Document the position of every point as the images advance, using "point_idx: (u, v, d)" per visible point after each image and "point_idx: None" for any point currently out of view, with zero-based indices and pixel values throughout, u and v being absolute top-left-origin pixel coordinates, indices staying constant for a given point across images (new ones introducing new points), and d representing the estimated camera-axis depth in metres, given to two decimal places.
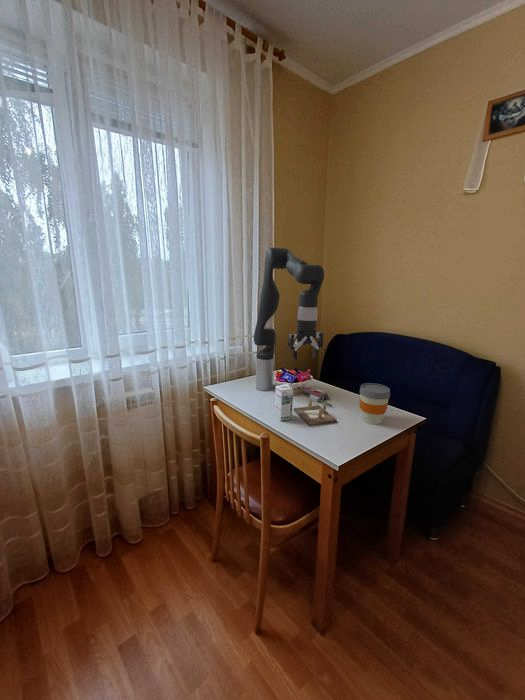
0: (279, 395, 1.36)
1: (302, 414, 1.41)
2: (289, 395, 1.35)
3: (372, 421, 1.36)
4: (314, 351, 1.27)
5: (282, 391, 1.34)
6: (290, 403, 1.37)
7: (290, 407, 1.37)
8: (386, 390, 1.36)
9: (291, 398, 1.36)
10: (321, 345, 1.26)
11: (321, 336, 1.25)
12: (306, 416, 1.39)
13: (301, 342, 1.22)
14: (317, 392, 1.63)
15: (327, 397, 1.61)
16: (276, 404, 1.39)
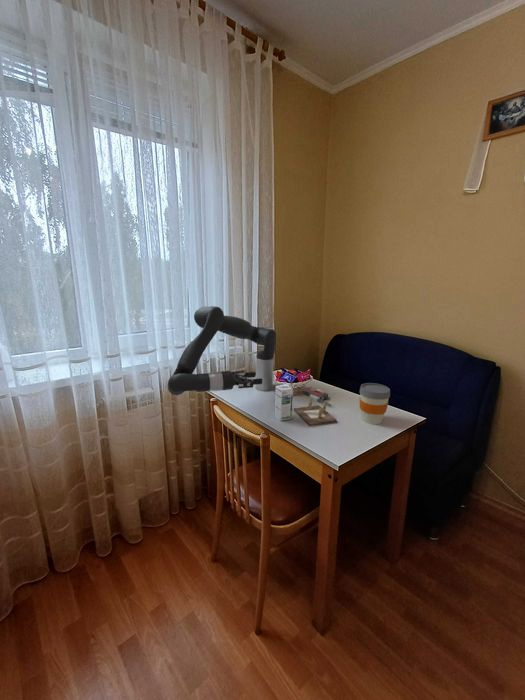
0: (279, 395, 1.36)
1: (302, 414, 1.41)
2: (289, 395, 1.35)
3: (372, 421, 1.36)
4: None
5: (282, 391, 1.34)
6: (290, 403, 1.37)
7: (290, 407, 1.37)
8: (386, 390, 1.36)
9: (291, 398, 1.36)
10: None
11: None
12: (306, 416, 1.39)
13: None
14: (317, 392, 1.63)
15: (327, 397, 1.61)
16: (276, 404, 1.39)
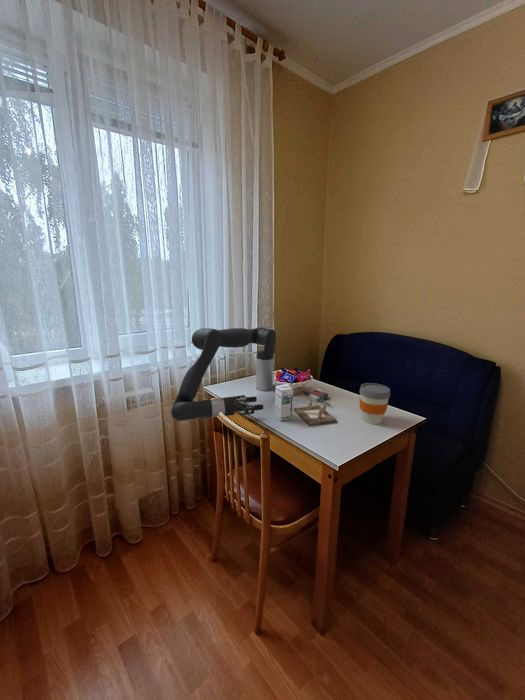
0: (279, 395, 1.36)
1: (302, 414, 1.41)
2: (289, 395, 1.35)
3: (372, 421, 1.36)
4: None
5: (282, 391, 1.34)
6: (290, 403, 1.37)
7: (290, 407, 1.37)
8: (386, 390, 1.36)
9: (291, 398, 1.36)
10: None
11: None
12: (306, 416, 1.39)
13: None
14: (317, 392, 1.63)
15: (327, 397, 1.61)
16: (276, 404, 1.39)
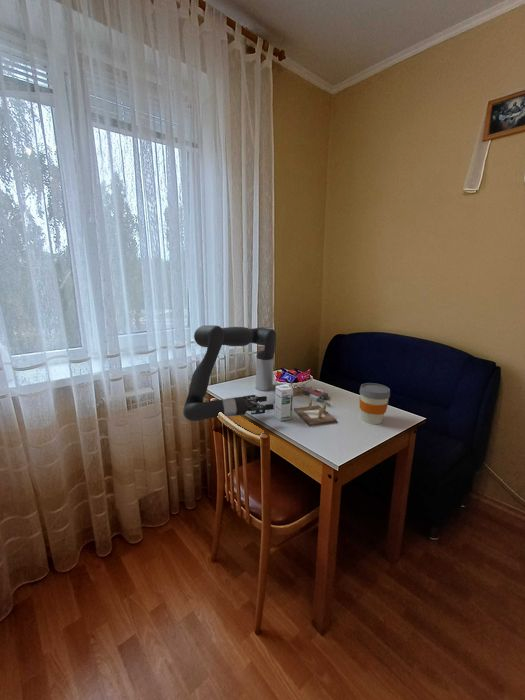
0: (279, 395, 1.36)
1: (302, 414, 1.41)
2: (289, 395, 1.35)
3: (372, 421, 1.36)
4: None
5: (282, 391, 1.34)
6: (290, 403, 1.37)
7: (290, 407, 1.37)
8: (386, 390, 1.36)
9: (291, 398, 1.36)
10: None
11: None
12: (306, 416, 1.39)
13: None
14: (317, 392, 1.64)
15: (327, 397, 1.61)
16: (276, 404, 1.39)
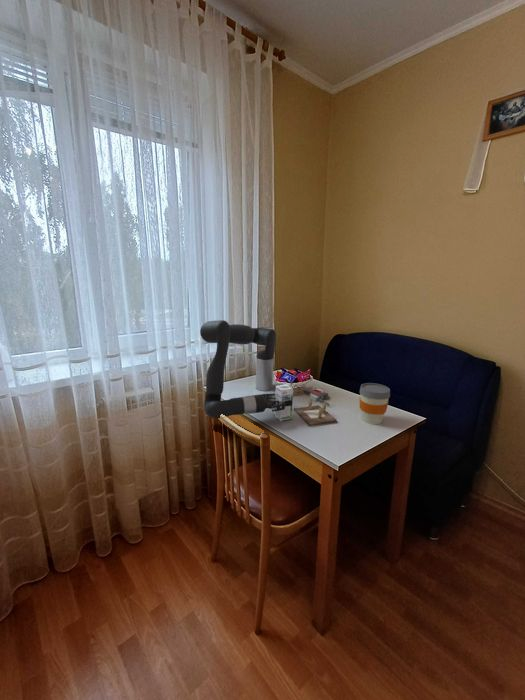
0: (279, 395, 1.36)
1: (302, 414, 1.41)
2: (289, 395, 1.35)
3: (372, 421, 1.36)
4: None
5: (282, 391, 1.34)
6: None
7: (290, 407, 1.37)
8: (386, 390, 1.36)
9: (291, 398, 1.36)
10: None
11: None
12: (306, 416, 1.39)
13: None
14: (317, 391, 1.64)
15: (327, 397, 1.61)
16: None
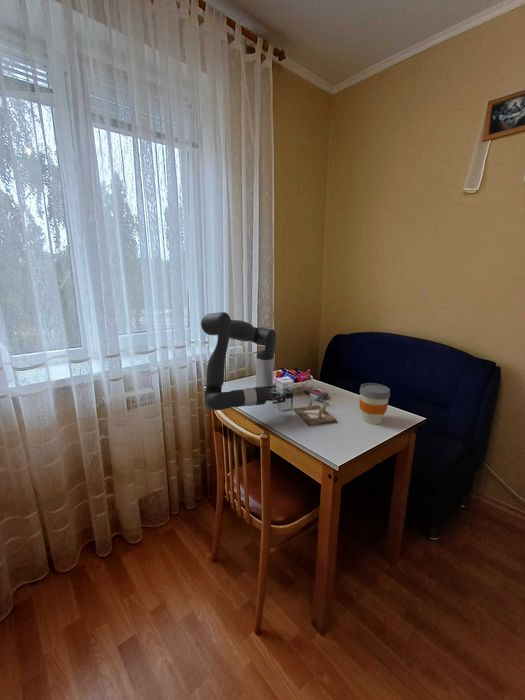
0: (280, 387, 1.35)
1: (302, 414, 1.41)
2: (290, 387, 1.35)
3: (372, 421, 1.36)
4: None
5: (283, 383, 1.33)
6: None
7: (291, 399, 1.36)
8: (386, 390, 1.36)
9: (292, 391, 1.36)
10: None
11: None
12: (306, 416, 1.39)
13: None
14: (318, 391, 1.64)
15: (327, 397, 1.61)
16: (277, 396, 1.38)
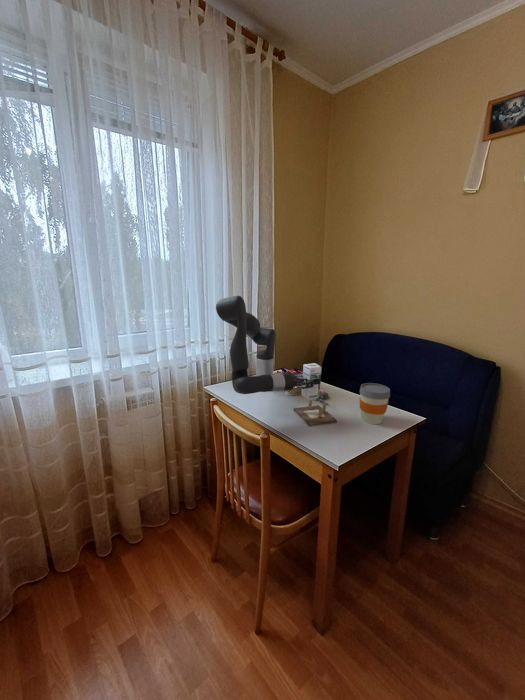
0: (307, 373, 1.35)
1: (302, 414, 1.41)
2: (317, 373, 1.34)
3: (372, 421, 1.36)
4: None
5: (311, 369, 1.33)
6: None
7: (318, 386, 1.36)
8: (386, 390, 1.36)
9: (319, 377, 1.35)
10: None
11: None
12: (306, 416, 1.39)
13: None
14: None
15: (327, 397, 1.61)
16: None
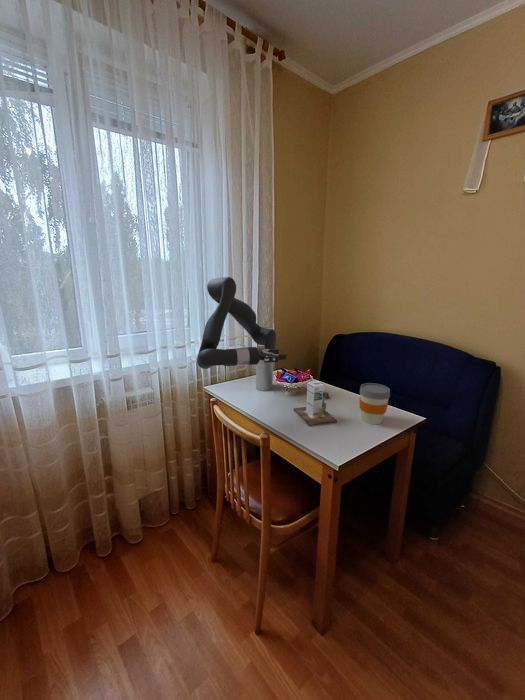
0: (311, 391, 1.37)
1: (302, 414, 1.41)
2: (321, 391, 1.37)
3: (372, 421, 1.36)
4: None
5: (315, 387, 1.35)
6: (322, 399, 1.38)
7: (322, 403, 1.39)
8: (386, 390, 1.36)
9: (323, 394, 1.38)
10: None
11: None
12: (306, 416, 1.39)
13: None
14: None
15: (327, 396, 1.62)
16: (308, 400, 1.41)
